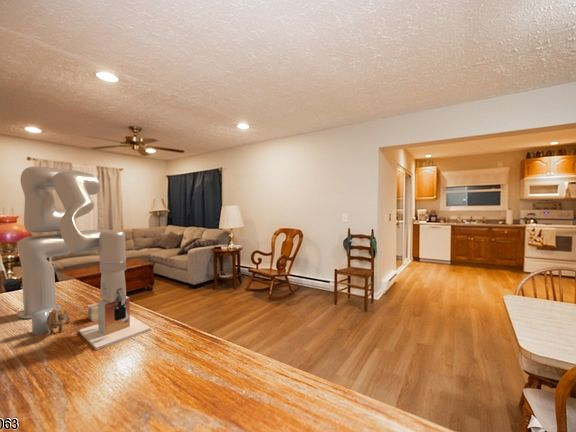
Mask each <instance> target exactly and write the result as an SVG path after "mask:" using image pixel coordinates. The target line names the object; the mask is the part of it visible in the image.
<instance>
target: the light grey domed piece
mask: <svg viewBox="0 0 576 432" xmlns="http://www.w3.org/2000/svg"><path fill="white" fill-rule="evenodd" d="M48 315H49V310H48V309H44V310H38V311H35V312H33V313H32V318H31V328H32V329H31V330H32V335H33V336H34V335H35V336H38V335H43V334H46V333H48V332H50V330H49V325H48V324H47V318H48Z"/></svg>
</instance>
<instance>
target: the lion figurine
mask: <svg viewBox="0 0 576 432" xmlns="http://www.w3.org/2000/svg"><path fill="white" fill-rule="evenodd" d="M65 320H66V324H69V323H70V322H71V319H70V316H69V311H68V308H67V307H63V306H61V308H59V309H55V310H53V311H51V312H50V314H49V315H48V318H47V324H48V325H49V333H48V336H53V335H54V333H55V332H54V328H58V332H59V334H62V333H64V332H65V330H64V329H63V326H64V325H63V324H64V321H65Z"/></svg>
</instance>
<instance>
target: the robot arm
mask: <svg viewBox="0 0 576 432" xmlns="http://www.w3.org/2000/svg"><path fill="white" fill-rule="evenodd" d="M19 180H20V186H21V190H22V191H23V196H24V209H23V211H24V212H23V226H24V229H25V230H26V231H27V232H29V233H50V232H51V234H39V235H38V234H37V235H30V236H26V237H23V238H21V239H20V240H19V241H18V242H17V245H16V248H17V253H18V257H19V262H20V266H21V278H22V280H21V281H22V300H23V310H21V311H20V312H19V313H18V314H17V315H18V318H19V319H26V320H27V319H32V313H33V312H35V311H38V310H44V309H48V310H49V314H50V312H51V311H53V310H55V309H59V308H62V306H61V304H59V303H57V301H56V300H57V298H56V277H55V267H54V265H53V264H52V263H51V262H50V261H49V260H48V259H49V258H52V257H59V256H60V257H61V256H66V255H69V254H70V253H73V254H78V255H80V254H87V253H88V254H89V253H92V252H98V253H99V272H100V274H101V276H100V298H101V300H105V301H107V302H109V303H112V302H114V305H115V308H116V309H114V317H115V321H117V320H120V319H124V318H126V296H127V289H126V288H127V285H126V275H125V271H127V250H126V249H127V247H126V246H127V245H126V234H125V232H124V231H122V230H113V229H107V228H104V229H102V228H101V229H91V230H90V229H89V230H81V231H80V230H79V229H78V227H77V224H76V219H78V218H80V217H83V216H85V215H87V214H90V212H91V211H92V210H94V208H95V203H94V200H93V199H92V197H91V196H92V195H93V196H95V195H96V194H98V193H99V192H100V190H101V181H99V179H98V178H97V176H95V175H94V174H91V173H88V172H83V171H80V170H73V169H65V168H56V167H48V166H30V167H26V168H24V169H23V170H22V172H21V175H20V179H19ZM49 190H53V191H55V193H56V195H58V197H59V200H60V202H61V204H62V205H63V208H55V198H54V195H53V194H52V193H51V192H50V191H49ZM52 232H53V233H54V232H56V233H54V234H52ZM47 258H48V259H47ZM118 298H119V299H118ZM119 301H120V302H119ZM117 302H119V303H118V304H117Z"/></svg>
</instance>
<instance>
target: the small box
mask: <svg viewBox="0 0 576 432" xmlns="http://www.w3.org/2000/svg"><path fill="white" fill-rule="evenodd" d="M118 299H119V298H118ZM119 302H120V301H119ZM119 302H117V304H118V303H119ZM97 303H98V320H97V322H98V323H97V324H98V330H99V331H100V332H102V333H103V334H105V335H106V334H109V333H112V332H114V331H117V330H120V329H123V328H127V327H129V326H130V315H131V309H130V306H131V305H130V297H129V296H127V295H126V318H124V319H120V320H117V321H115V317H114V309H116V308H115V305H114V302H112V303H109V302H107V301H105V300H104V299H101V300H98V301H97Z"/></svg>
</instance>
